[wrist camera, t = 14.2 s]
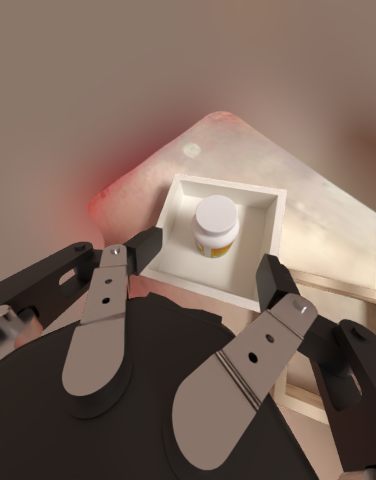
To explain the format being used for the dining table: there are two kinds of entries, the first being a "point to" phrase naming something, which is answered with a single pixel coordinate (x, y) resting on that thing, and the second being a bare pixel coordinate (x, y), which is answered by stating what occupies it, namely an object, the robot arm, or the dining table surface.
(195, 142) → the dining table surface
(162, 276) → the bin
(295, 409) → the frame
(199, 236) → the supplement bottle
